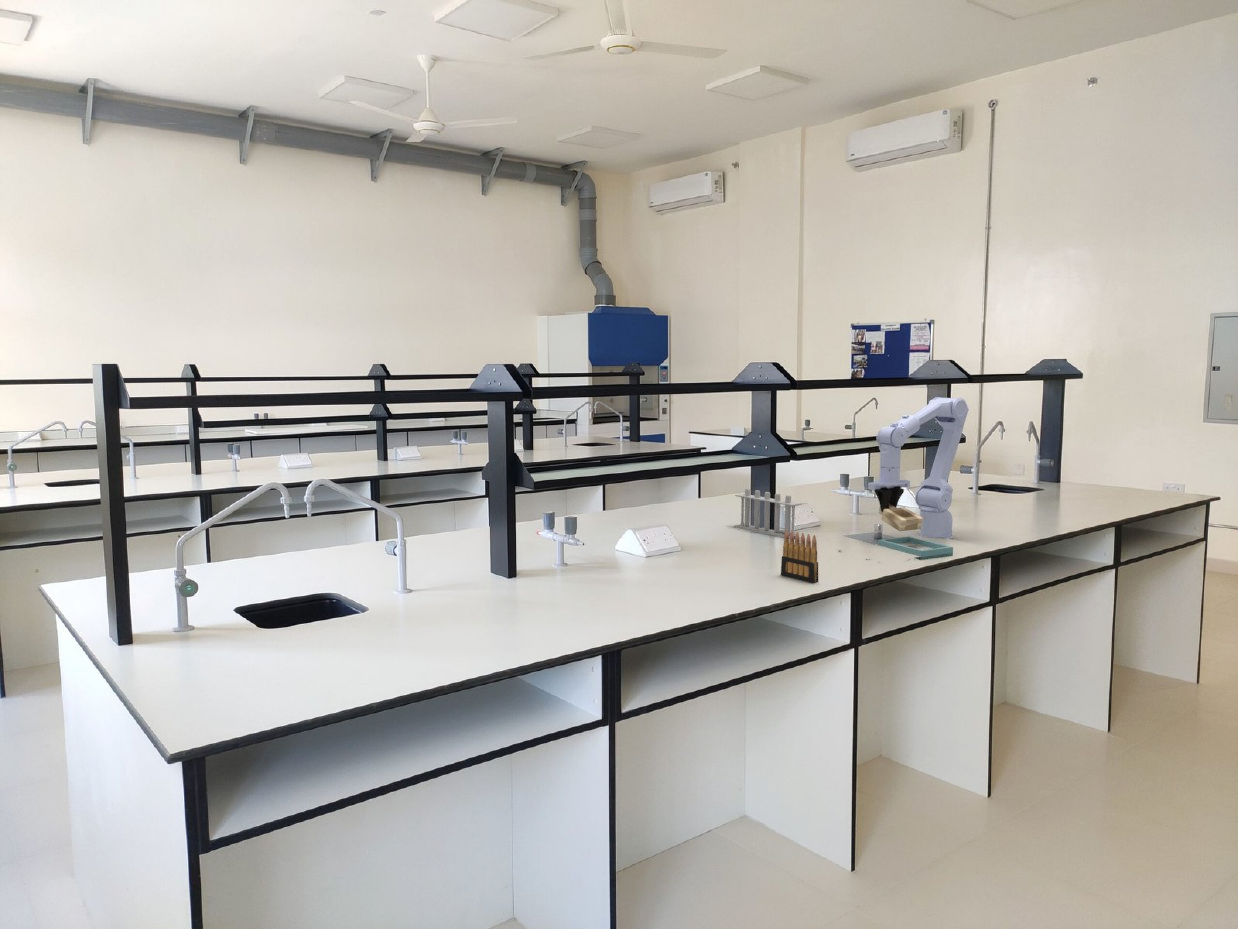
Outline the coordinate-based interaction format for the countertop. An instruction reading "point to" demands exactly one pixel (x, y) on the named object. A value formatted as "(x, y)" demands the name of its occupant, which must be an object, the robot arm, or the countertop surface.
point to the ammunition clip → (800, 558)
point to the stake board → (871, 535)
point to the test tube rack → (766, 513)
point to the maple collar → (901, 518)
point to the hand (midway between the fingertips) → (888, 512)
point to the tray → (936, 552)
